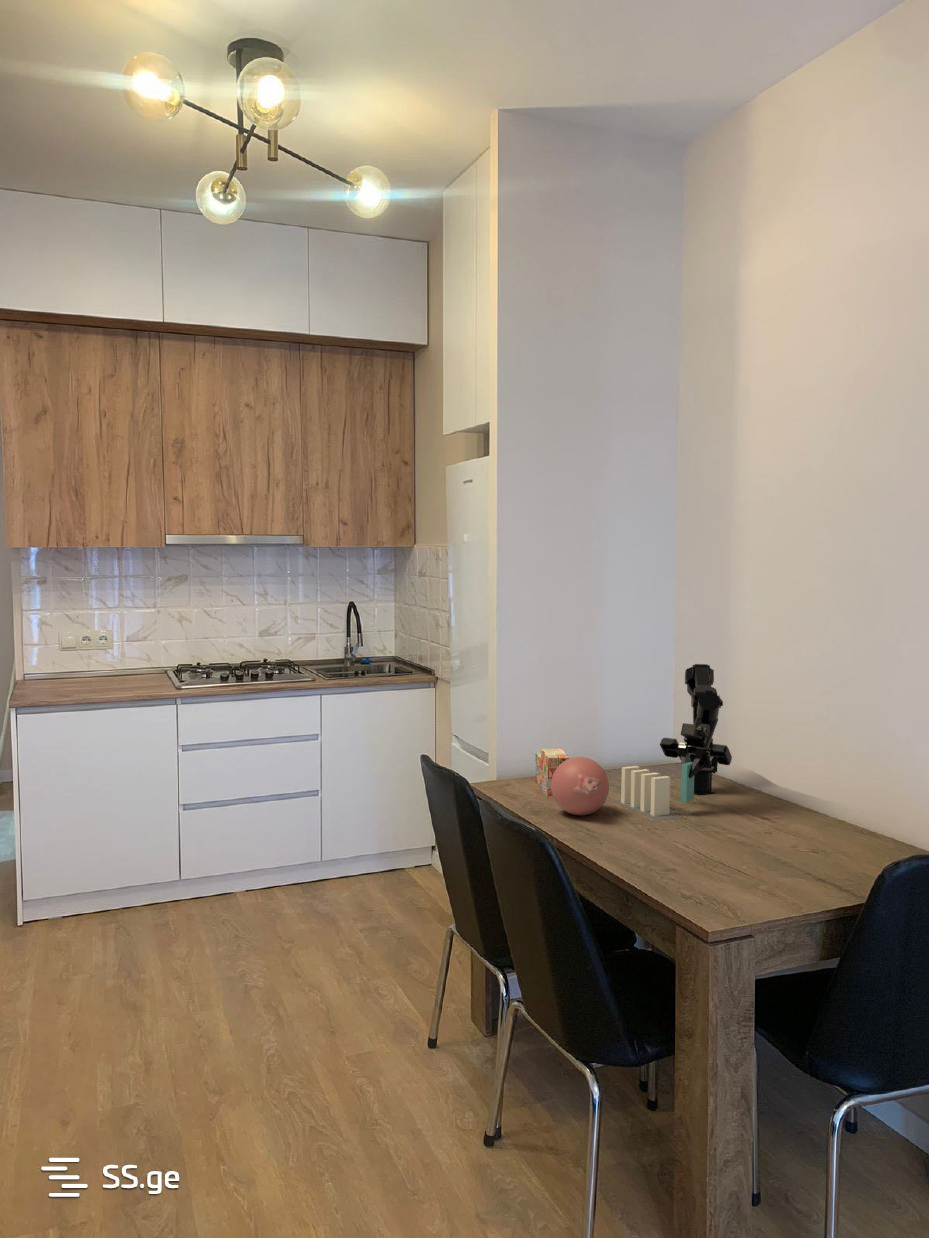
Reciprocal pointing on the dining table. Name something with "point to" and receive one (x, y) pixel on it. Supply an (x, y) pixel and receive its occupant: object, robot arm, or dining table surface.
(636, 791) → the domino
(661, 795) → the domino
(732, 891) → the dining table surface
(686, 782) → the teal domino
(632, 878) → the dining table surface
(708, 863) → the dining table surface
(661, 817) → the domino mat
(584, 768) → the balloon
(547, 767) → the stack of blocks
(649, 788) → the domino
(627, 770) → the domino
